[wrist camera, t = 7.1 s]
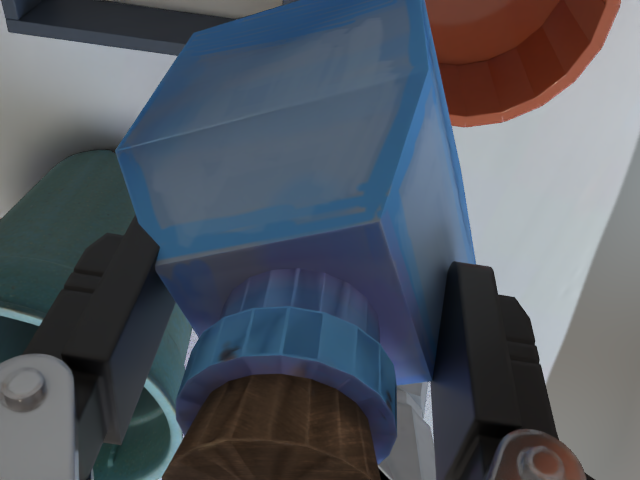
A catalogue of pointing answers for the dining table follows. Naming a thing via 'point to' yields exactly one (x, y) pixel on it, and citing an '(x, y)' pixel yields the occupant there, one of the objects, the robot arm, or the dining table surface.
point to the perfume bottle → (301, 232)
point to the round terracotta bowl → (513, 52)
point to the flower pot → (49, 278)
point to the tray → (108, 23)
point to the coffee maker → (410, 438)
